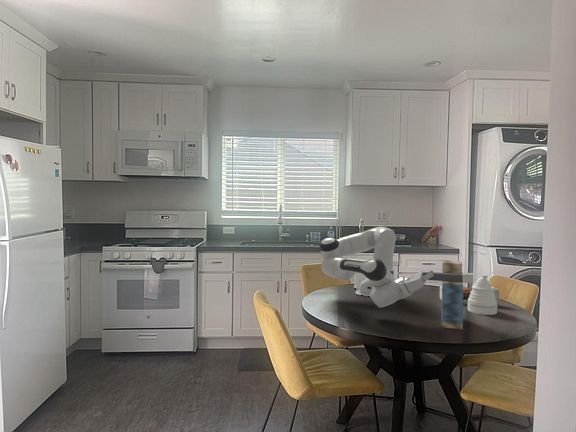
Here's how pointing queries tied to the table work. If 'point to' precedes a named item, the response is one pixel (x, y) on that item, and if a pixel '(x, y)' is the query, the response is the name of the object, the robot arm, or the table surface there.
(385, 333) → the table surface
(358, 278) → the cup
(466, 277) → the dark gray bar
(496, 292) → the medicine box
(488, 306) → the honey pot
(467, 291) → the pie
